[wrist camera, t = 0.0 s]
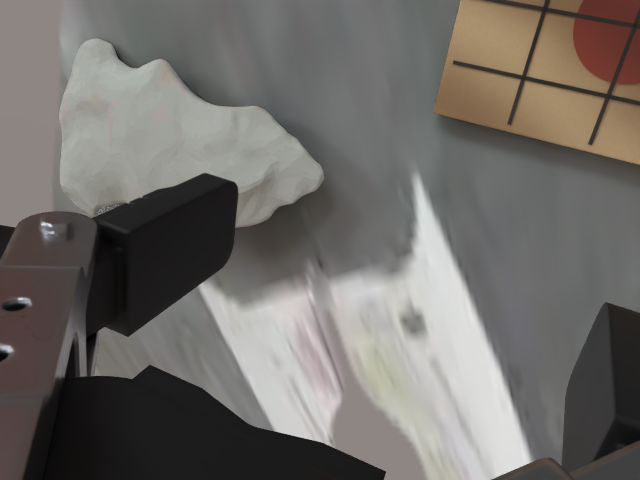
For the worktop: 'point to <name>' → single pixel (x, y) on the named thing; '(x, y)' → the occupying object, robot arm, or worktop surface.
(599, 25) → the grid board
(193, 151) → the stone tool replica
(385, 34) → the worktop surface
